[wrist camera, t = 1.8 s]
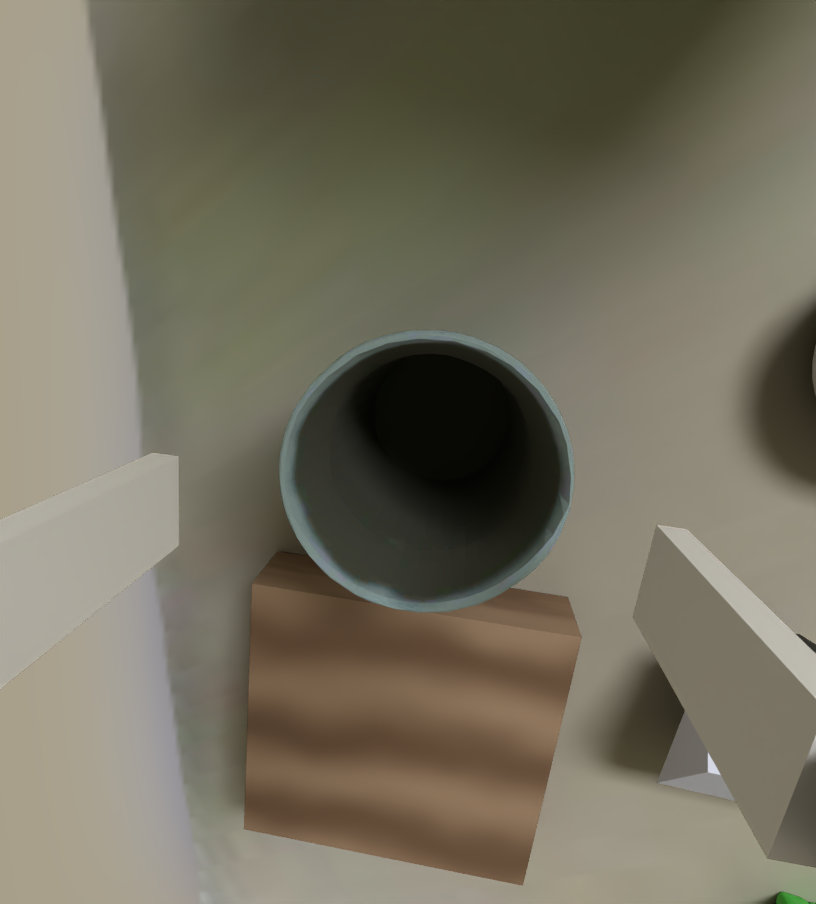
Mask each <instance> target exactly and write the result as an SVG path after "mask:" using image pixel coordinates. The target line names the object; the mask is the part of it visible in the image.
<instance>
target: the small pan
mask: <svg viewBox="0 0 816 904" xmlns="http://www.w3.org/2000/svg"><path fill="white" fill-rule="evenodd" d="M812 381H813V386H814V391H815V395H816V345H815V350H814V355H813V360H812Z"/></svg>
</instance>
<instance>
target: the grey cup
mask: <svg viewBox="0 0 816 904" xmlns="http://www.w3.org/2000/svg"><path fill="white" fill-rule="evenodd" d="M279 481H280V492H281V497H282V501H283V506H284V509H285V512H286V515H287V518H288V520H289V522H290V525H291V527H292V529H293V531H294V533H295V535H296V537H297V539H298V541H299V542H300V544H301V545H302V547H303V548H304V550H305V551H306V552H307V554H308V555H309V556H310V557H311V558H312V559H313V561H314V562H315V563H316V564H317V565H318V566H319V567H320V569H321V570H322V571H324V572H325V573H326V574H327V575H328V576H329V577H330V578H331V579H333V580H334V581H336V582H337V583H338V584H340V585H341V586H343V587H344V588H346V589H347V590H349V591H350V592H352V593H353V594H355V595H357V596H359V597H361V598H363V599H366V600H368V601H370V602H372V603H375V604H379V605H382V606H385V607H388V608H392V609H396V610H403V611H410V612H417V613H430V612H449V611H453V610H458V609H462V608H466V607H470V606H475V605H478V604H481V603H483V602H485V601H487V600H490V599H492V598H494V597H496V596H498V595H500V594H501V593H503V592H505V591H506V590H508V589H509V588H511V587H512V586H514V585H515V584H517V583H518V582H520V581H521V580H522V579H524V578H525V577H526V576H527V575H528V574H530V573H531V572H532V571H533V570H534V569H536V567H537V566H538V565H539V564H540V563H541V562H542V561H543V559H544V558H545V557H546V556H547V555H548V554H549V552H550V550H551V549H552V547H553V545H554V544H555V542H556V541H557V539H558V537H559V536H560V533H561V531H562V528H563V526H564V523H565V521H566V518H567V516H568V513H569V510H570V505H571V499H572V494H573V488H574V460H573V452H572V446H571V442H570V438H569V434H568V430H567V428H566V425H565V423H564V420H563V418H562V415H561V413H560V411H559V409H558V408H557V406H556V404H555V402H554V400H553V399H552V397H551V396H550V394H549V393H548V391H547V390H546V389H545V387H544V386H543V385H542V384H541V383H540V381H539V380H538V379H537V378H536V377H535V376H534V375H533V374H532V373H531V372H530V371H529V370H528V369H527V368H526V367H525V366H524V365H523V364H522V363H521V362H519V361H518V360H516V359H515V358H513V357H512V356H510V355H509V354H507V353H506V352H504V351H503V350H501V349H500V348H498V347H496V346H494V345H491V344H489V343H487V342H484V341H482V340H480V339H477V338H474V337H470V336H467V335H463V334H460V333H454V332H447V331H439V330H414V331H404V332H399V333H394V334H389V335H384V336H381V337H378V338H375V339H372V340H369V341H366V342H364V343H362V344H360V345H358V346H357V347H355V348H353V349H351V350H350V351H348V352H347V353H345V354H344V355H342V356H341V357H339V358H338V359H337V360H336V361H335V362H334V363H333V364H332V365H330V366H329V367H328V368H327V369H326V370H325V371H324V372H323V373H321V374H320V375H319V376H318V377H317V378H316V379H315V380H314V382H313V383H312V384H311V385H310V386H309V388H308V389H307V391H306V392H305V394H304V395H303V397H302V398H301V400H300V401H299V403H298V404H297V406H296V407H295V409H294V410H293V413H292V415H291V418H290V420H289V423H288V425H287V428H286V430H285V434H284V438H283V442H282V446H281V451H280V457H279Z"/></svg>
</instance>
